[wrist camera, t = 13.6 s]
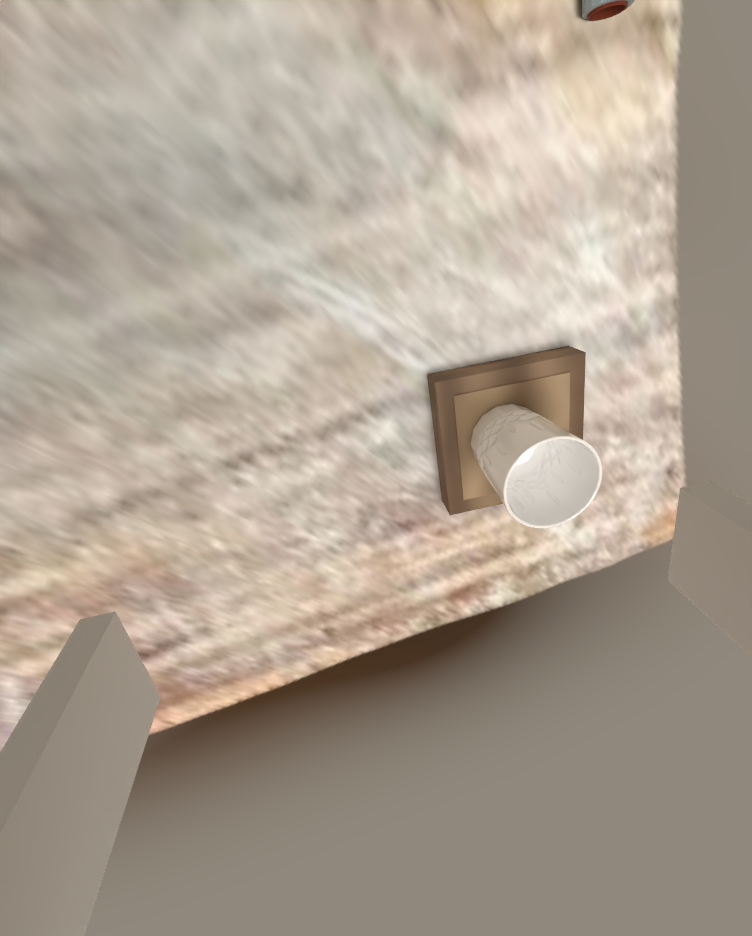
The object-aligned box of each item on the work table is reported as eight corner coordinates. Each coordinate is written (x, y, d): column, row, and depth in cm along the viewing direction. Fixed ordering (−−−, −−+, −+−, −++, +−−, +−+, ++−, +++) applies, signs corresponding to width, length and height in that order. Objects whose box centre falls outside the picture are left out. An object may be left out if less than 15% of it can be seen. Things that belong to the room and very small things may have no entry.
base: (442, 500, 51) (450, 515, 48) (427, 374, 45) (435, 383, 42) (566, 474, 52) (582, 487, 49) (568, 346, 46) (586, 352, 43)
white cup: (487, 488, 47) (530, 545, 38) (449, 429, 44) (485, 476, 35) (556, 444, 46) (616, 492, 37) (522, 380, 43) (579, 415, 34)
